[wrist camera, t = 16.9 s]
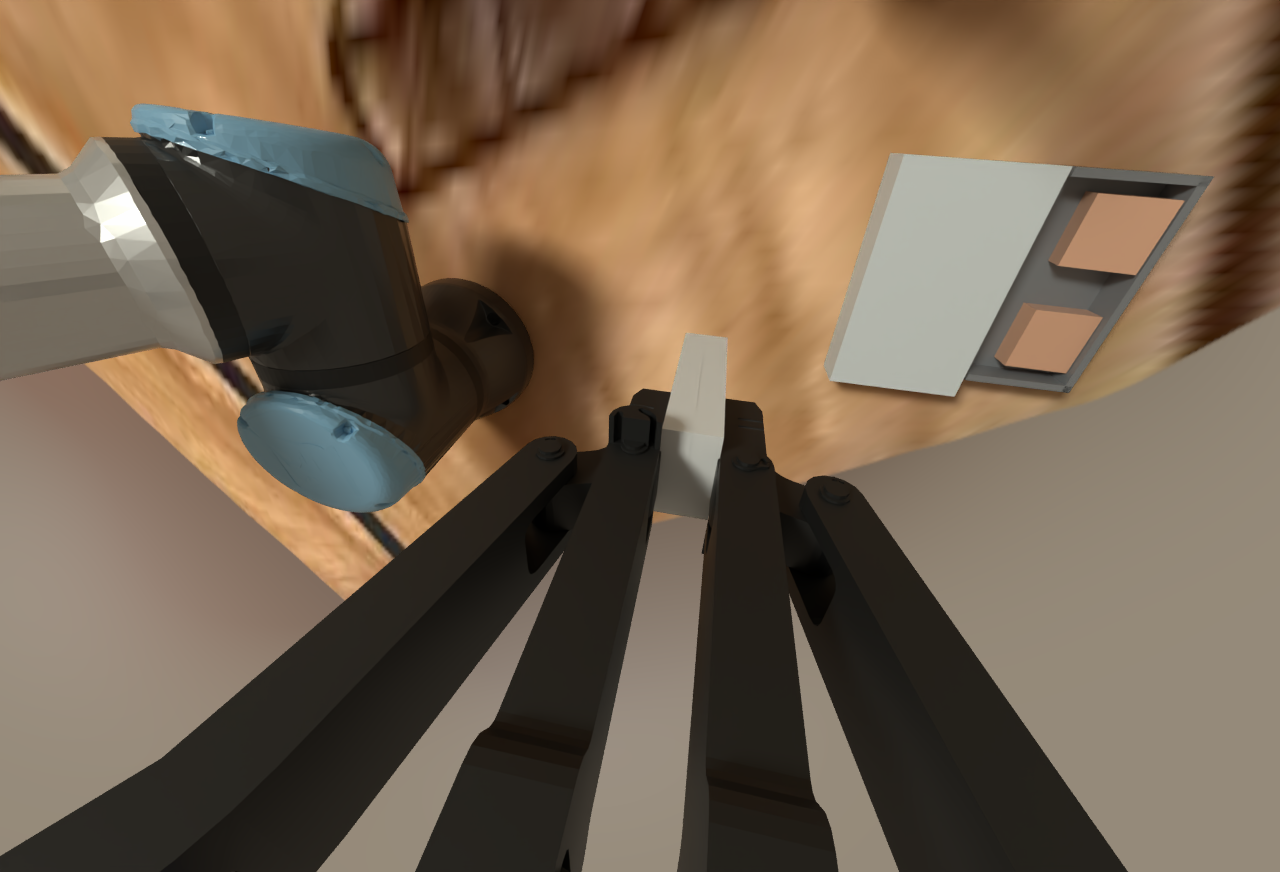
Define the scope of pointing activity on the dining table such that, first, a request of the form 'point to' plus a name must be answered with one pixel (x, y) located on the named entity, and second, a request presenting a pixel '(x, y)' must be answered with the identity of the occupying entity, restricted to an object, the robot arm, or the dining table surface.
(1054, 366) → the tile far
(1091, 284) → the tray
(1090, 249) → the tile near
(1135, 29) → the dining table surface
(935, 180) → the board
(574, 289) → the dining table surface
